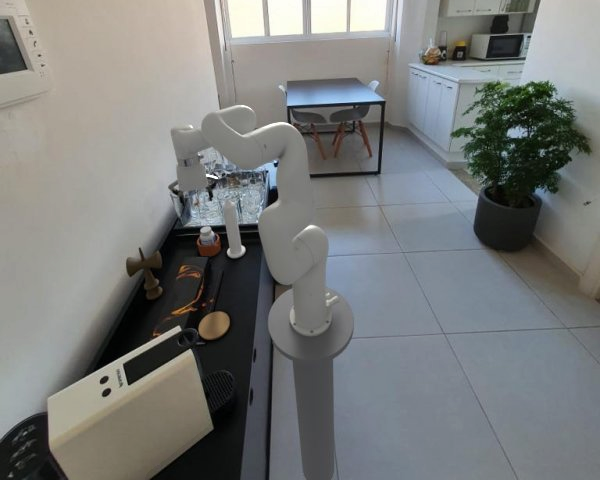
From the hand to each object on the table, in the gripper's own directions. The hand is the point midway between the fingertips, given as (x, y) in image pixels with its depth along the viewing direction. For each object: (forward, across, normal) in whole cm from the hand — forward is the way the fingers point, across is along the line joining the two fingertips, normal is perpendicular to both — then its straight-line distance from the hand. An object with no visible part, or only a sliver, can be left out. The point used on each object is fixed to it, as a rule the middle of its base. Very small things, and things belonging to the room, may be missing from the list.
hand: (197, 201), depth 115 cm
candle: (+22, -11, +6) cm, 25 cm away
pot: (+22, -1, +1) cm, 22 cm away
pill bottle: (+22, -1, +1) cm, 22 cm away
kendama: (+22, +17, +18) cm, 34 cm away
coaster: (+22, -2, +37) cm, 43 cm away
